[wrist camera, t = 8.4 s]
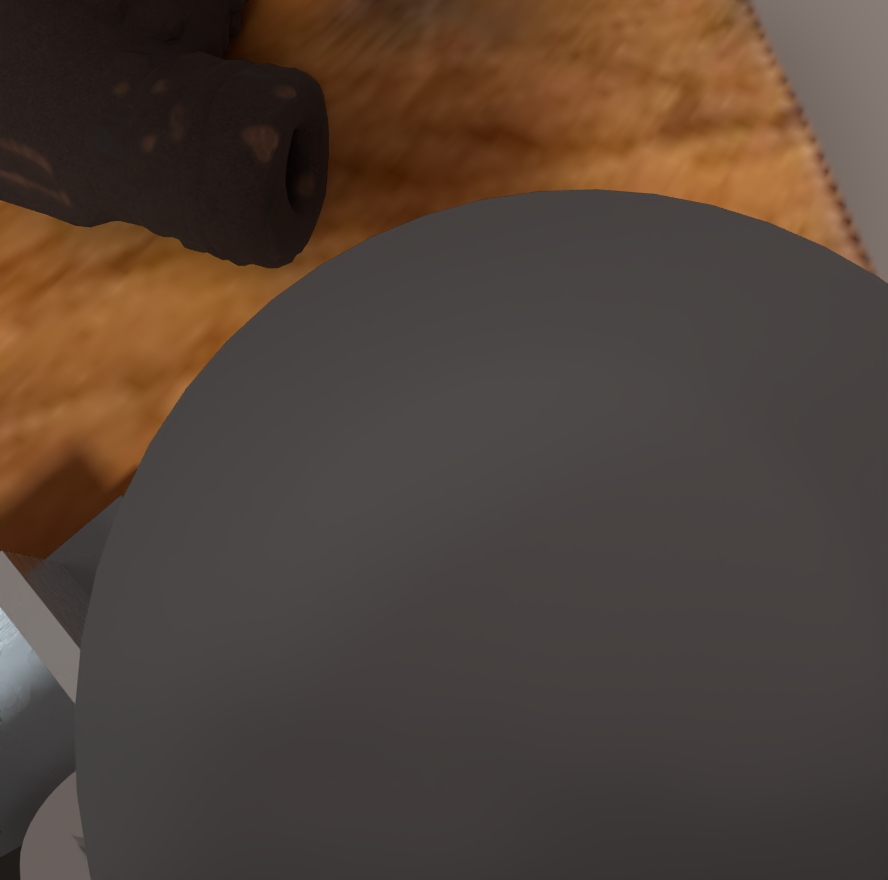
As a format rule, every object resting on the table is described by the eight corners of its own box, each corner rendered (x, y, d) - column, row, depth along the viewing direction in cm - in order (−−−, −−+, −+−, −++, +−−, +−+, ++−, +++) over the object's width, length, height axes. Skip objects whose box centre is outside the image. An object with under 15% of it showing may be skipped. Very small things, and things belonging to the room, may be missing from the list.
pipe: (231, 212, 22) (339, -211, 23) (-182, 143, 24) (-59, -246, 25) (317, 307, 32) (390, 2, 33) (18, 252, 33) (99, -34, 35)
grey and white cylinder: (273, 640, 13) (-143, 636, 4) (488, 438, 15) (589, 41, 5) (488, 889, 12) (671, 1785, 3) (703, 649, 13) (1371, 666, 4)
